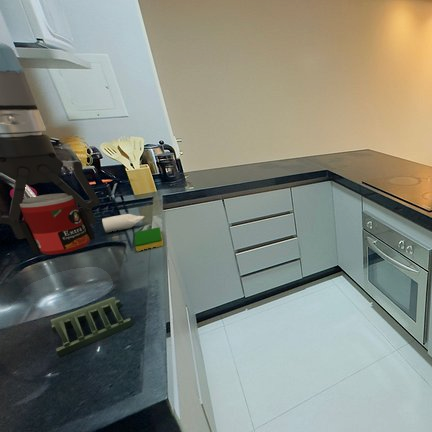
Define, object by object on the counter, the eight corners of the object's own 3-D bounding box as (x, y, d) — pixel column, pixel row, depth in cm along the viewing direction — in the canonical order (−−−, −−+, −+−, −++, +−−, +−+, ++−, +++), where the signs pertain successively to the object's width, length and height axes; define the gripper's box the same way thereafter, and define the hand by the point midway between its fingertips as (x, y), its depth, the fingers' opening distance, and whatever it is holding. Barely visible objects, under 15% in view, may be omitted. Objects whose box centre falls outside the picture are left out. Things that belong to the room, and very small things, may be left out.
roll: (147, 227, 114) (142, 213, 112) (106, 234, 108) (101, 220, 106) (147, 222, 119) (143, 209, 117) (108, 229, 112) (102, 216, 110)
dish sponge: (161, 232, 109) (159, 226, 108) (163, 245, 99) (161, 239, 98) (136, 238, 105) (134, 231, 104) (136, 252, 95) (134, 245, 94)
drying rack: (59, 357, 55) (42, 324, 52) (53, 330, 62) (38, 300, 59) (132, 325, 63) (121, 295, 60) (120, 304, 70) (110, 277, 67)
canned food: (73, 253, 61) (52, 202, 57) (28, 256, 59) (3, 205, 55) (100, 238, 68) (83, 192, 64) (60, 240, 66) (39, 194, 62)
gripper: (-83, 141, 45) (-12, 269, 54) (96, 131, 60) (130, 233, 68) (-76, 138, 50) (-11, 256, 58) (89, 130, 65) (122, 225, 73)
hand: (65, 244), depth 63 cm, fingers closed on canned food, 8 cm apart
